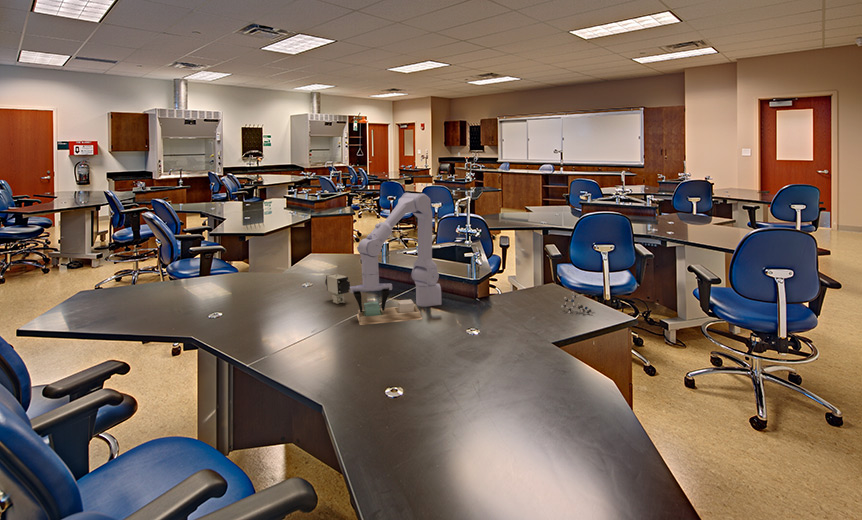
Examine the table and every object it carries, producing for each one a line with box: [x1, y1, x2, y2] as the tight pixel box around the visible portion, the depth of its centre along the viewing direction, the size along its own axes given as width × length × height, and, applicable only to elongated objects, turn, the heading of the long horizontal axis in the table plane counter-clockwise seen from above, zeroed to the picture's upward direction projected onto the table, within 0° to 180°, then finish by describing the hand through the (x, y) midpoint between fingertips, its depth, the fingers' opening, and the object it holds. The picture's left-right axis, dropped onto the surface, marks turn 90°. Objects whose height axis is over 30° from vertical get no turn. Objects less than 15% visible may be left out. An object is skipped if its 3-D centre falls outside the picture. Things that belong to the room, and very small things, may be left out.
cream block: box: [396, 299, 415, 314], centre depth 179 cm, size 5×5×5 cm
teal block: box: [363, 301, 381, 317], centre depth 176 cm, size 5×5×5 cm
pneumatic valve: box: [324, 273, 351, 305], centre depth 200 cm, size 6×12×12 cm, turn 41°
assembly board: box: [356, 304, 424, 326], centre depth 178 cm, size 22×12×3 cm, turn 103°
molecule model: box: [560, 291, 596, 316], centre depth 181 cm, size 6×12×8 cm, turn 75°
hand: (372, 310), depth 176 cm, fingers open, 7 cm apart
